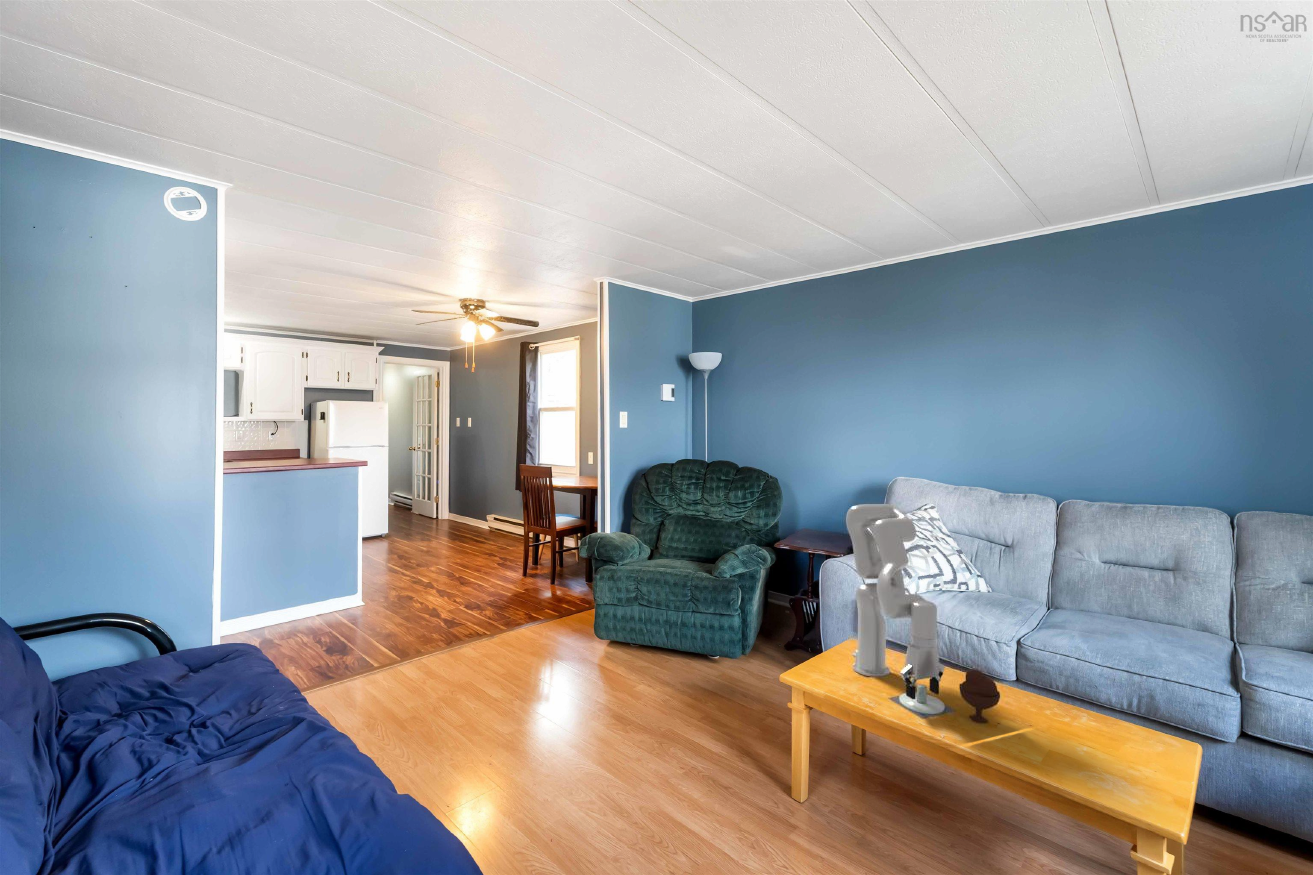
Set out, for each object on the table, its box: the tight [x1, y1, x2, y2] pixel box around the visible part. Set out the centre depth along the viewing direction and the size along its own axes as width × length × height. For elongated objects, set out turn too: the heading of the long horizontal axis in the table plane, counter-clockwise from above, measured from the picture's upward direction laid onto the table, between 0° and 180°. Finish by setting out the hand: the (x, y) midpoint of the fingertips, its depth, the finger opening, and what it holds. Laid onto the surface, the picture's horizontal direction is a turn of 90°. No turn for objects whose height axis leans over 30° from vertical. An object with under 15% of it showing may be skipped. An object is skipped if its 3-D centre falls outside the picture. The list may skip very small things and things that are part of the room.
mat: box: [887, 691, 957, 720], centre depth 182 cm, size 14×14×1 cm
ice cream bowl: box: [958, 668, 1001, 725], centre depth 174 cm, size 11×11×15 cm
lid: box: [899, 683, 945, 715], centre depth 182 cm, size 13×13×6 cm
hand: (922, 694), depth 182 cm, fingers open, 9 cm apart
